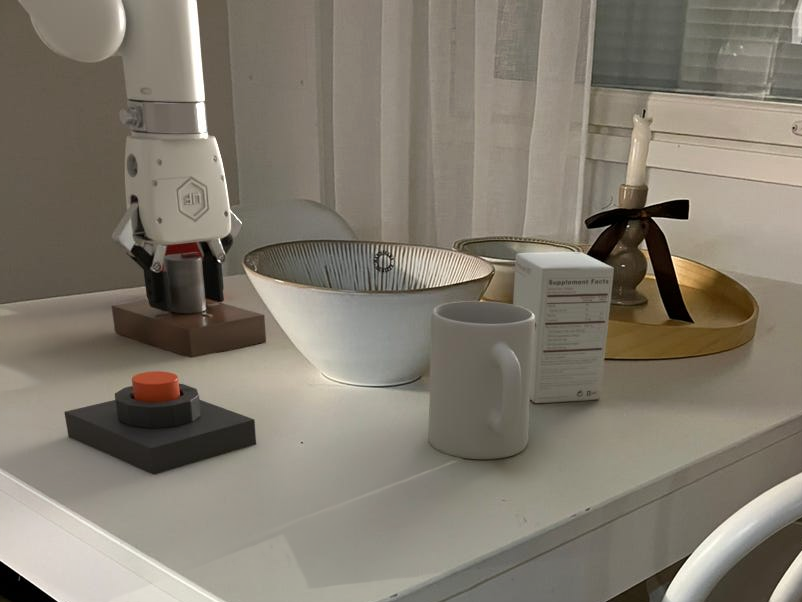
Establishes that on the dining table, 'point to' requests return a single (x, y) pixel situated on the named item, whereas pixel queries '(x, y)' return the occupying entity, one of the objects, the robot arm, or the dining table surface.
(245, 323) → the dial panel
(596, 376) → the white packaging box
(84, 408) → the button base
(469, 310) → the mug
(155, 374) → the button
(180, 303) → the dial
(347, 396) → the dining table surface
